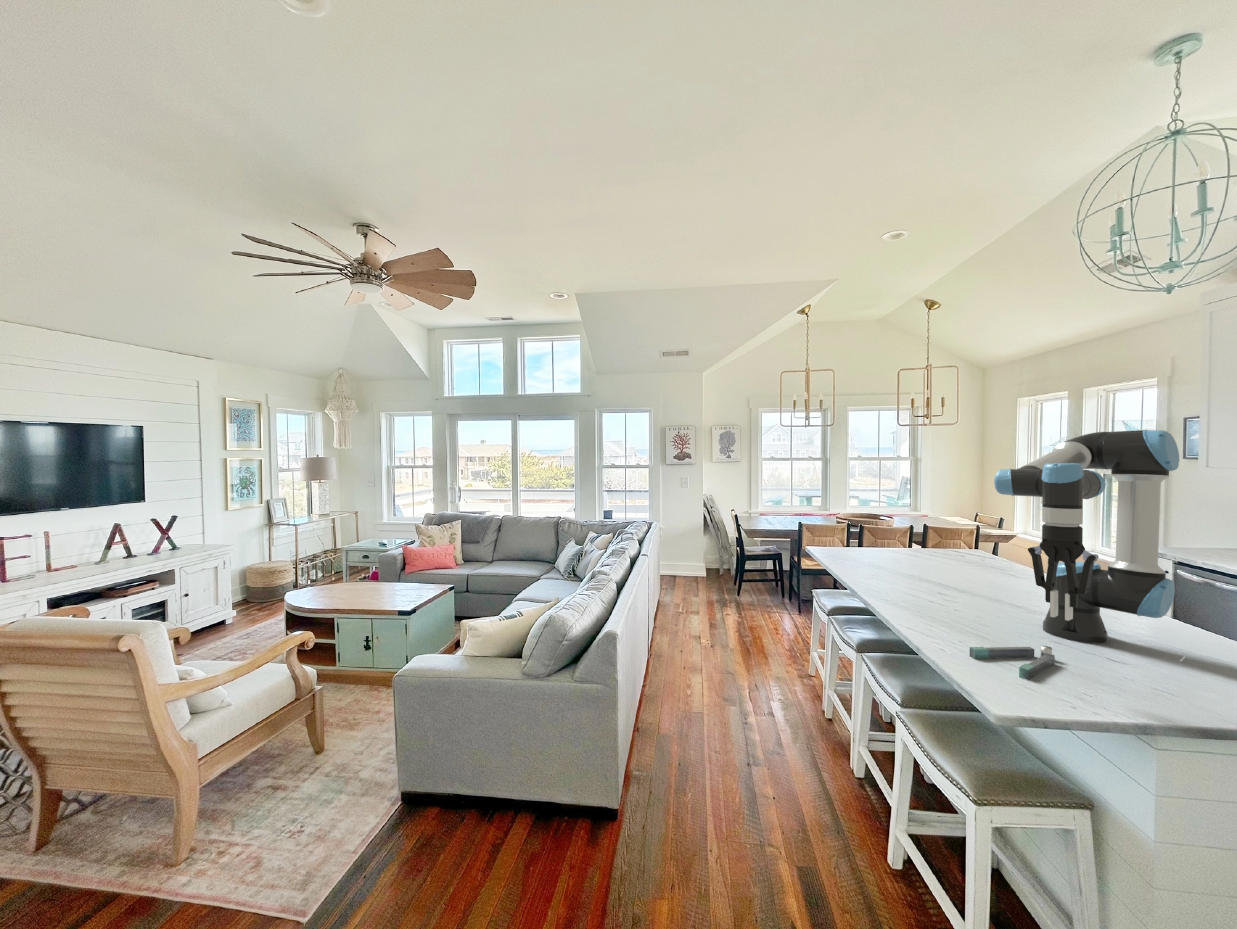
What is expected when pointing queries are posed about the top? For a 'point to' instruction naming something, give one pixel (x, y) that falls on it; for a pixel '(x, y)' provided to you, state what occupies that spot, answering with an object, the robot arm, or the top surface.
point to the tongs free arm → (1036, 666)
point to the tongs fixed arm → (1006, 652)
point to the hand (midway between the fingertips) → (1061, 617)
